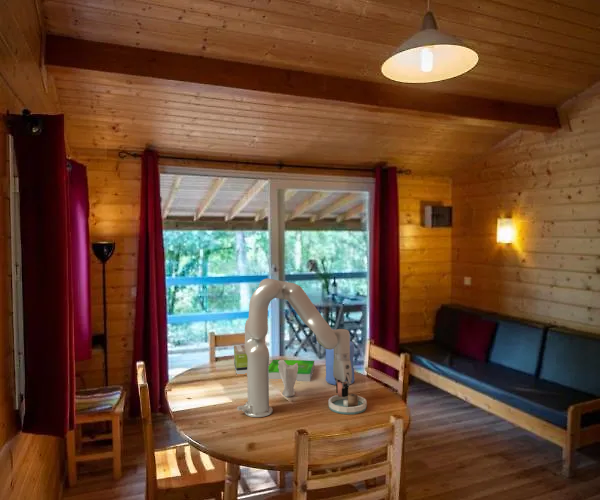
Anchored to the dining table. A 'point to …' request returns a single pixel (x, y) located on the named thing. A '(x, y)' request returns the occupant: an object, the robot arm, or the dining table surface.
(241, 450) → the dining table surface
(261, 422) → the dining table surface
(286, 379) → the shell sculpture
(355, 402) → the walnut bead
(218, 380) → the dining table surface
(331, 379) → the water jug
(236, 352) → the tea box
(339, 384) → the coral bead
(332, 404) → the groove dish
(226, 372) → the dining table surface
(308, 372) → the tray
